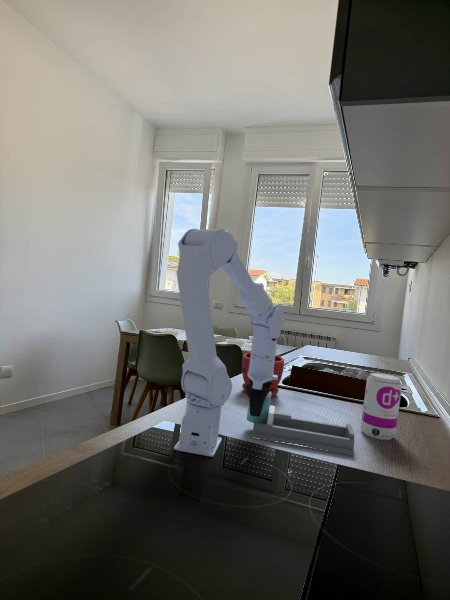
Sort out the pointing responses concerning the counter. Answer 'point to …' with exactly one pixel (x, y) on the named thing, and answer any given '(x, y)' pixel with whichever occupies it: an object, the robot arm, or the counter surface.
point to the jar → (264, 412)
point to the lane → (308, 434)
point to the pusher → (277, 415)
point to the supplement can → (381, 406)
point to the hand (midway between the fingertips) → (256, 412)
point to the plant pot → (277, 371)
